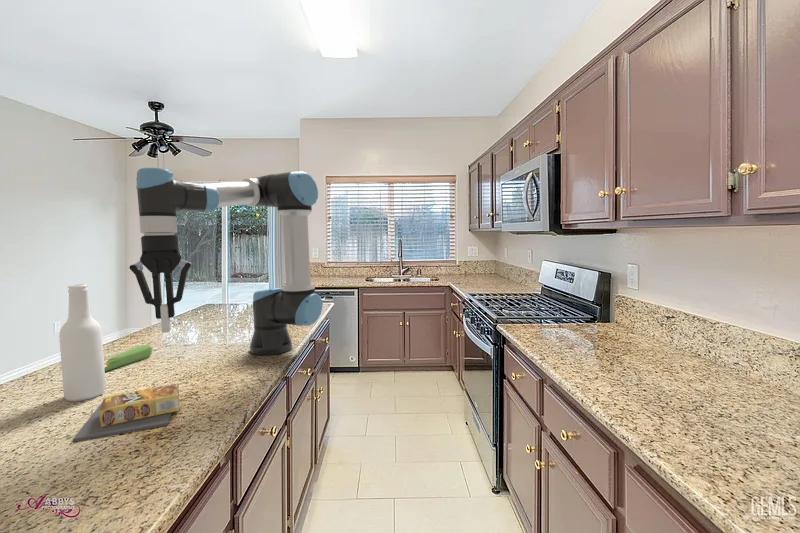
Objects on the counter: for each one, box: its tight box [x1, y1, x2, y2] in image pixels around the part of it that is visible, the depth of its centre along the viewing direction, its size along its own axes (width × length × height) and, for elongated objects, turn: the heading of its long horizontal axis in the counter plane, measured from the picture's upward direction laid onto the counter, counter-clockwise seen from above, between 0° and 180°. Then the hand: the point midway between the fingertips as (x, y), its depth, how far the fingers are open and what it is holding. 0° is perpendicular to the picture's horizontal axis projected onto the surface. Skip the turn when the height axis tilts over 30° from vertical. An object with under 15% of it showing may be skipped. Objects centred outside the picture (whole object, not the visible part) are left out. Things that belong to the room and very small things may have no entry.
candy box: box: [99, 383, 180, 427], centre depth 92 cm, size 9×4×15 cm
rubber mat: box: [72, 390, 180, 442], centre depth 93 cm, size 17×20×1 cm
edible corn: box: [104, 344, 153, 373], centre depth 131 cm, size 5×20×5 cm
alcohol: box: [58, 283, 107, 402], centre depth 103 cm, size 9×9×30 cm
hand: (166, 331), depth 95 cm, fingers closed
